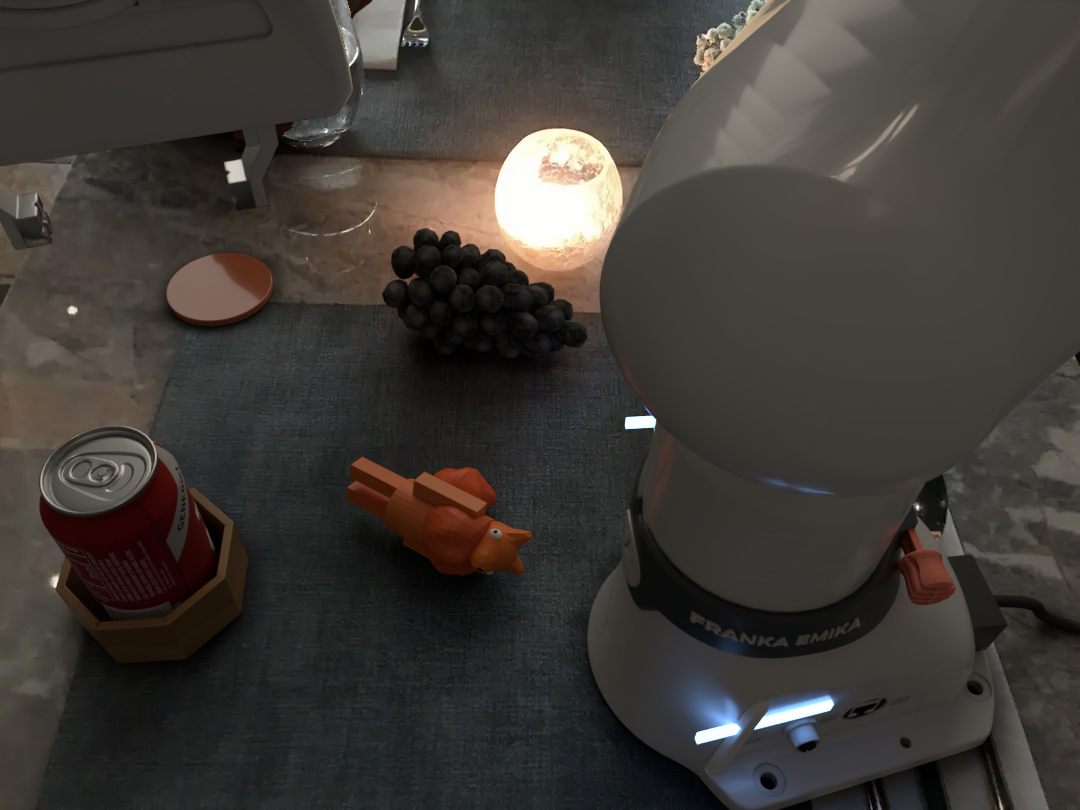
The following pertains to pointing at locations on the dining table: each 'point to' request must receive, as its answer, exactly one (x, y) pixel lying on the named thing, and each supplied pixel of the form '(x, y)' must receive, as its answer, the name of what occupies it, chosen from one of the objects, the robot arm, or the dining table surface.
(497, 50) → the dining table surface
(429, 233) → the fruit
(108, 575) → the soda can
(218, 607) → the can holder
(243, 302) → the coaster
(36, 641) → the dining table surface
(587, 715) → the dining table surface
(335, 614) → the dining table surface
